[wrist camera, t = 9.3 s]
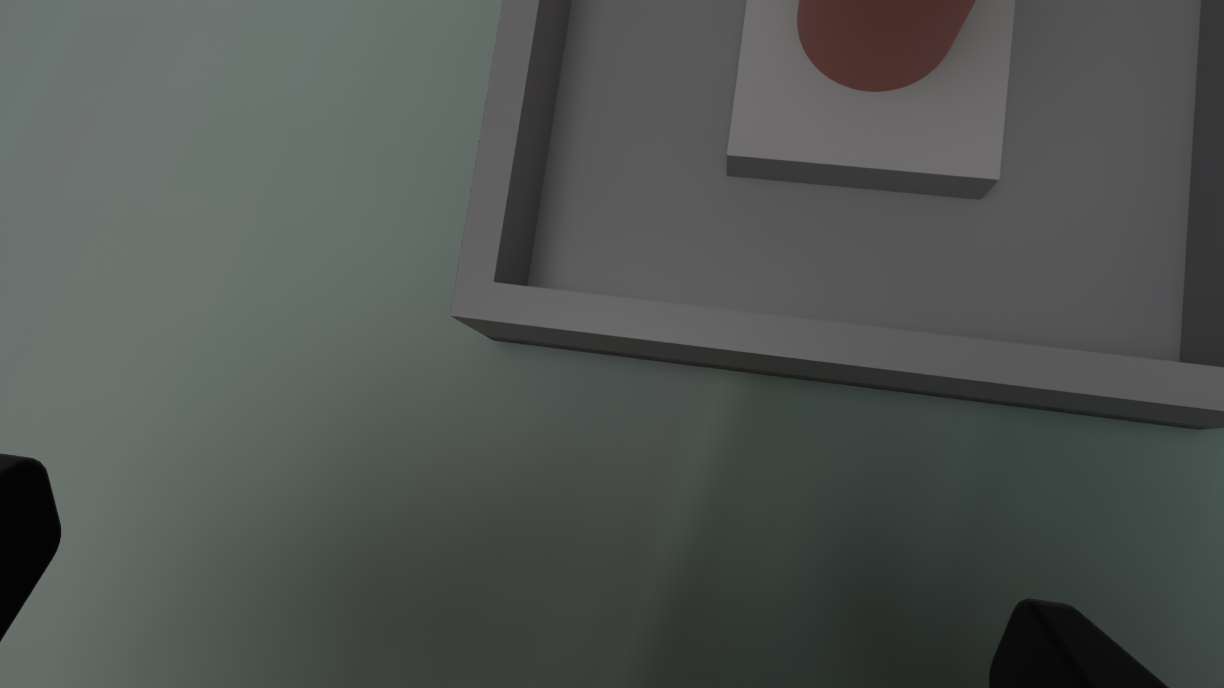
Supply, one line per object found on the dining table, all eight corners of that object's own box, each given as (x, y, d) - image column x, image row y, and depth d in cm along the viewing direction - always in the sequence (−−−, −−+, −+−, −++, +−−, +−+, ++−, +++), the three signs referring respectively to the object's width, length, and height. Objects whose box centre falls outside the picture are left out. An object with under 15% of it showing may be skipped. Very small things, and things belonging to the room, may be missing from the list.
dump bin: (1199, 429, 17) (1302, 421, 14) (493, 339, 19) (450, 315, 16) (1236, -231, 18) (1335, -365, 15) (587, -247, 20) (564, -368, 17)
